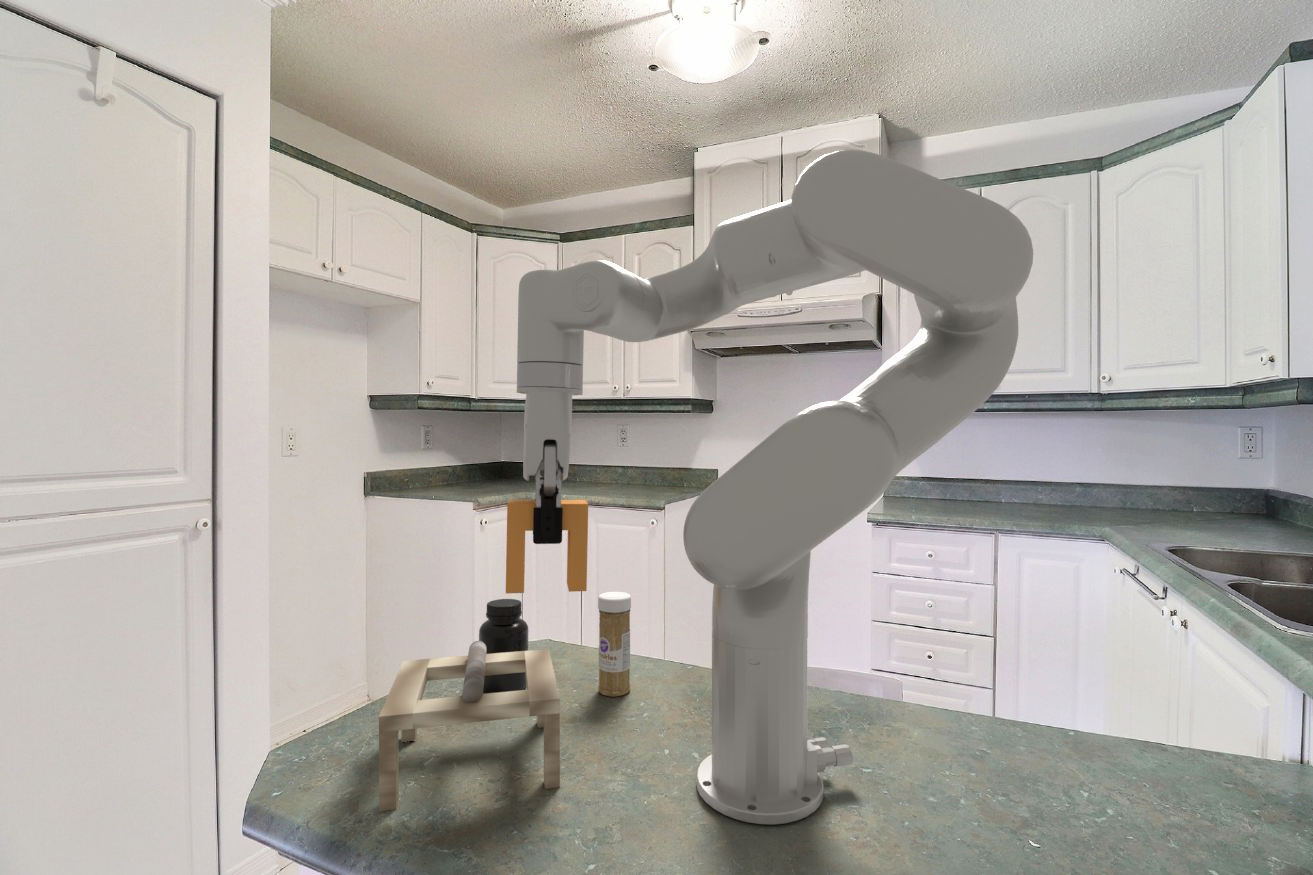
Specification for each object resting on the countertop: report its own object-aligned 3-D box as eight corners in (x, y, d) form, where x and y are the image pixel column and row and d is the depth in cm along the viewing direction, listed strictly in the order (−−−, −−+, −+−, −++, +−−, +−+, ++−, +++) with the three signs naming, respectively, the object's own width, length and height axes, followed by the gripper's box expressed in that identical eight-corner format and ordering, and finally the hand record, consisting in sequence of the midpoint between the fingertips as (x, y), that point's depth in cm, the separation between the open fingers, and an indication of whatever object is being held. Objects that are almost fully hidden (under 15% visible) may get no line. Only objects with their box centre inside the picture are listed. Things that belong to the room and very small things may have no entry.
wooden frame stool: (549, 721, 78) (549, 632, 78) (559, 787, 63) (559, 678, 63) (403, 736, 74) (403, 643, 74) (379, 811, 59) (378, 695, 59)
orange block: (583, 582, 75) (585, 499, 75) (586, 591, 72) (588, 503, 71) (506, 584, 74) (508, 499, 73) (505, 593, 70) (507, 504, 70)
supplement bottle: (522, 698, 85) (521, 609, 85) (471, 697, 85) (471, 609, 85) (533, 678, 92) (532, 596, 92) (486, 677, 92) (486, 596, 92)
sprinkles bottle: (591, 694, 86) (591, 596, 86) (609, 682, 90) (609, 589, 90) (620, 700, 84) (620, 600, 84) (637, 688, 88) (637, 592, 88)
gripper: (518, 384, 80) (515, 528, 80) (515, 374, 63) (511, 555, 64) (577, 386, 81) (574, 527, 81) (589, 377, 65) (585, 553, 65)
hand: (546, 537), depth 72 cm, fingers closed on orange block, 4 cm apart
